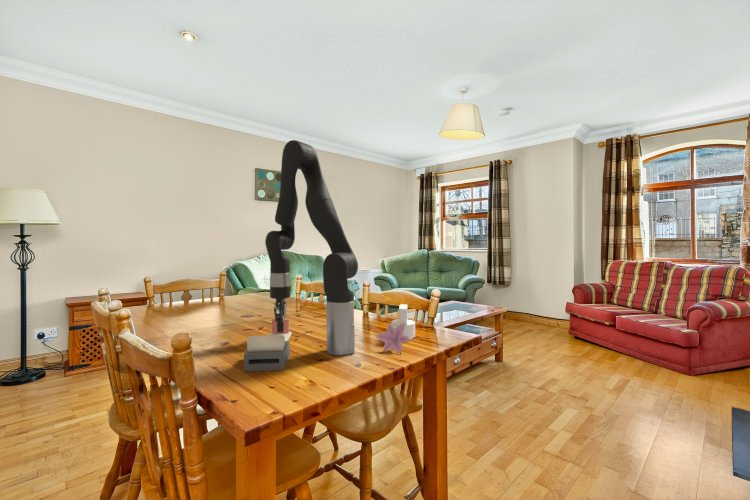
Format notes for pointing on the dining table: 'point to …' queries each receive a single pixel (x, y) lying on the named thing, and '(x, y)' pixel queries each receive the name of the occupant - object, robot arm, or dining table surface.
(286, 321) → the pink-tipped cream block
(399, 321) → the base with upright slab
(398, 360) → the dining table surface
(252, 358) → the dispenser
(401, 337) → the lily
